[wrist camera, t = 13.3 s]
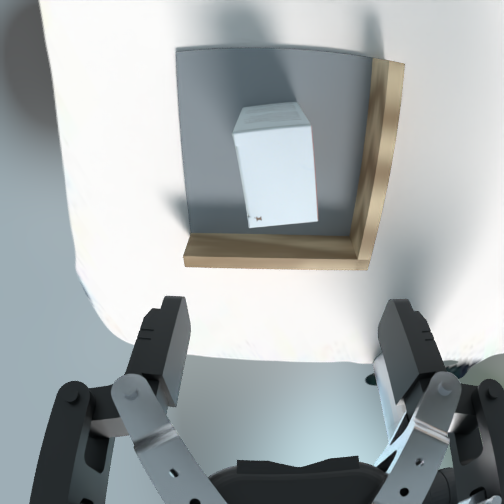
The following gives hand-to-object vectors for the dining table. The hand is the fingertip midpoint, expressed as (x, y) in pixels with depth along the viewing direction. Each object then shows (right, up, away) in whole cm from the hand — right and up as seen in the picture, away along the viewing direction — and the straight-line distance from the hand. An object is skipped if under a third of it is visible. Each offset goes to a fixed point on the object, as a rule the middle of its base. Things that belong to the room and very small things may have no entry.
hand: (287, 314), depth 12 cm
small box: (+1, +14, +19) cm, 24 cm away
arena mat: (+1, +13, +20) cm, 24 cm away
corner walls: (+2, +13, +20) cm, 24 cm away
